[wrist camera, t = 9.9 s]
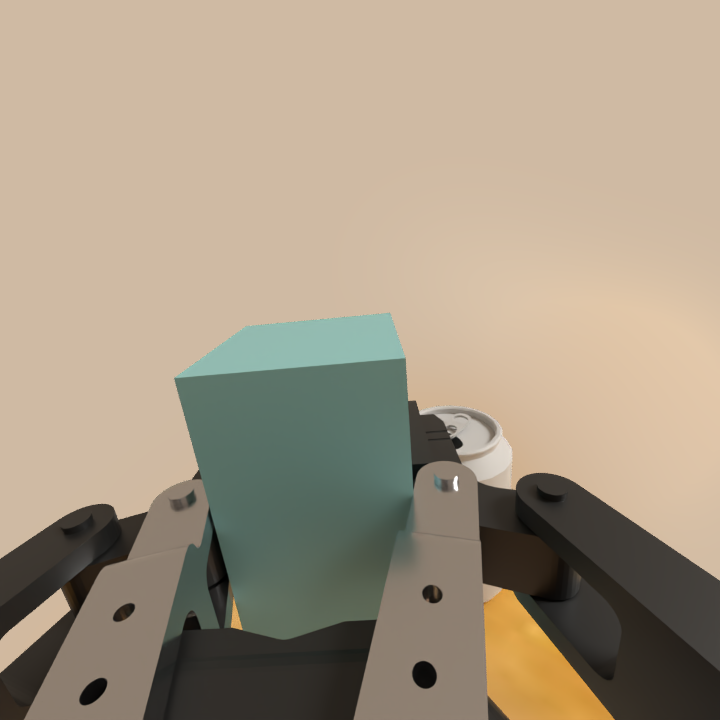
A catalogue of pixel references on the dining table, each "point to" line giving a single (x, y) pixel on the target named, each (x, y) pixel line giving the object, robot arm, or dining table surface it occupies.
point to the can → (478, 451)
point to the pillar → (304, 466)
